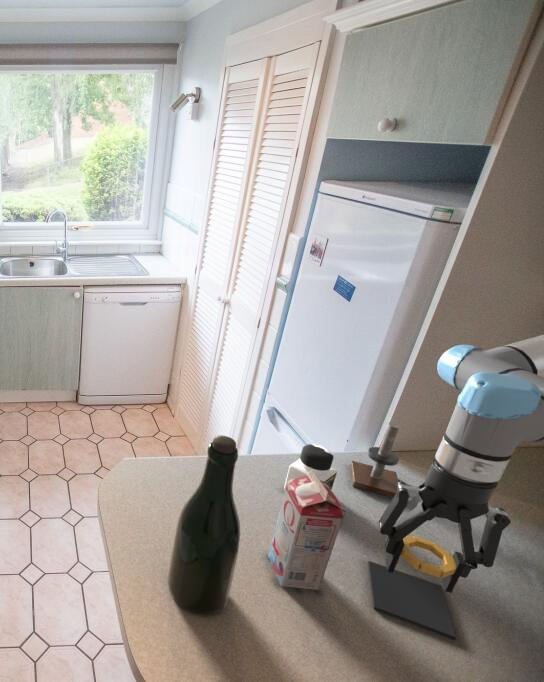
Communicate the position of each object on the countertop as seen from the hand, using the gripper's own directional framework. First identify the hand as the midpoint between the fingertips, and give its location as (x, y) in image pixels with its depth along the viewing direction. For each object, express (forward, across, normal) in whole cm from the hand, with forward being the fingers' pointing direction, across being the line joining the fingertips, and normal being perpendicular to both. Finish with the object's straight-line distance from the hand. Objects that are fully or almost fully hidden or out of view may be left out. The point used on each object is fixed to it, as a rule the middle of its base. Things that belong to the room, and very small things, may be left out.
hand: (417, 575), depth 78 cm
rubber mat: (+6, 0, 0) cm, 6 cm away
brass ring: (-4, 0, 0) cm, 4 cm away
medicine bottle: (+6, -16, +22) cm, 28 cm away
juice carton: (+6, -18, -4) cm, 19 cm away
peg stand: (+5, -2, +34) cm, 34 cm away
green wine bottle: (+6, -33, -17) cm, 37 cm away
